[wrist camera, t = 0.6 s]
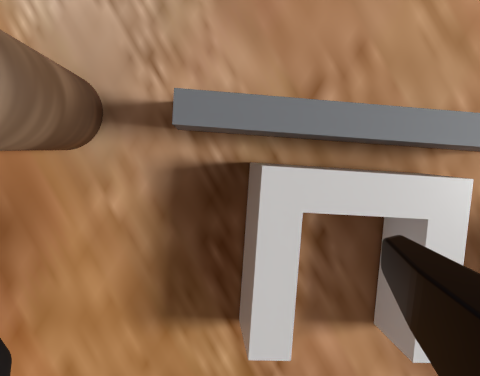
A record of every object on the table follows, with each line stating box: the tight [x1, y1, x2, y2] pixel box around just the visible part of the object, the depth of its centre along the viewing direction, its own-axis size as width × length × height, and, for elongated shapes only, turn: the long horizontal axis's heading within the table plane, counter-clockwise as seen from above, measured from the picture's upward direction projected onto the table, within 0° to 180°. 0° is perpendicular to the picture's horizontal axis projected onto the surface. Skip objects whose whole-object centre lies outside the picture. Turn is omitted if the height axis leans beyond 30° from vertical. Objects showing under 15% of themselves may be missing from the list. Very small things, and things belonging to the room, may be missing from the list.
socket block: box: [239, 162, 473, 363], centre depth 21 cm, size 9×10×4 cm
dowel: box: [0, 30, 103, 151], centre depth 16 cm, size 4×4×12 cm
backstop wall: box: [172, 88, 480, 151], centre depth 21 cm, size 2×18×5 cm, turn 86°
